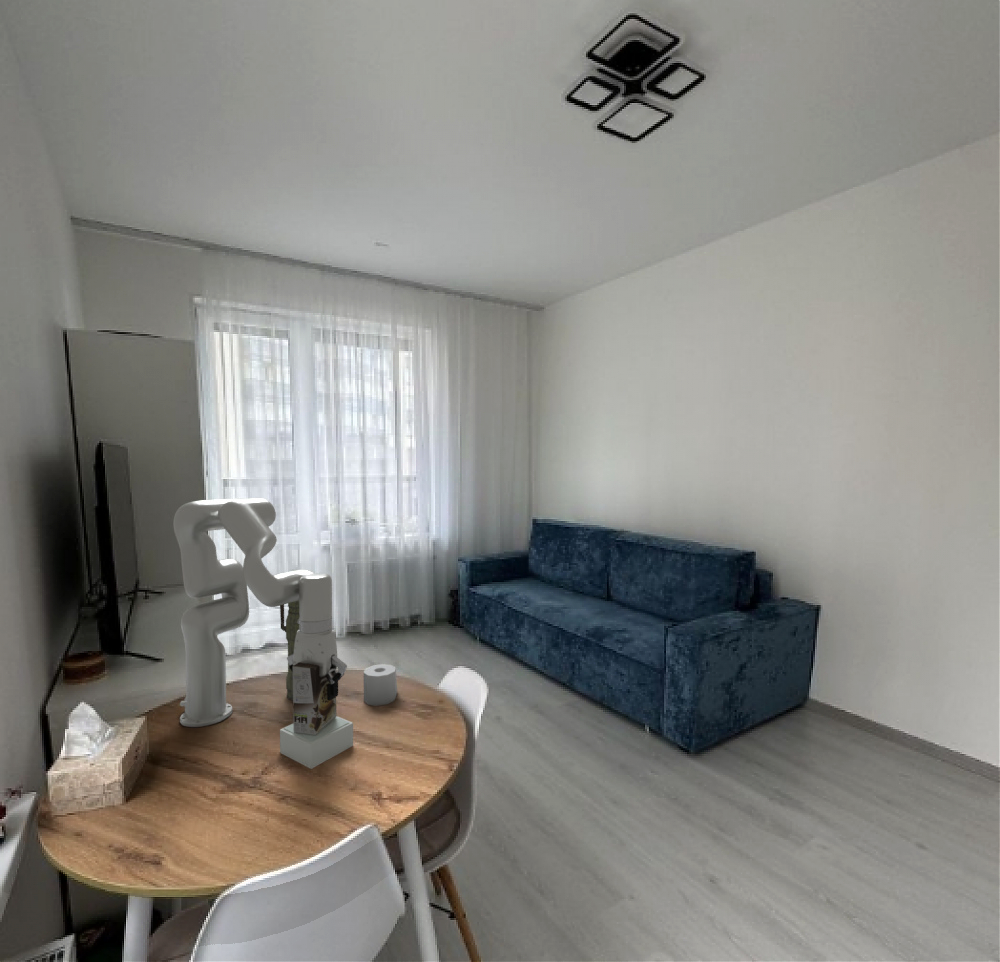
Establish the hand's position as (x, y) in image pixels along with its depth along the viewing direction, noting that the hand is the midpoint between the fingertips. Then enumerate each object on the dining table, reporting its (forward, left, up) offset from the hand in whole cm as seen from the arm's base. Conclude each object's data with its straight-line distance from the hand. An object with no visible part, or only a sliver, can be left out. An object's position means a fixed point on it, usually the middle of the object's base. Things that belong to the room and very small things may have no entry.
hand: (316, 694), depth 125 cm
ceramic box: (0, 0, -14) cm, 14 cm away
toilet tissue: (-2, +31, -14) cm, 33 cm away
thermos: (-26, +23, -14) cm, 37 cm away
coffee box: (0, 0, -7) cm, 8 cm away
